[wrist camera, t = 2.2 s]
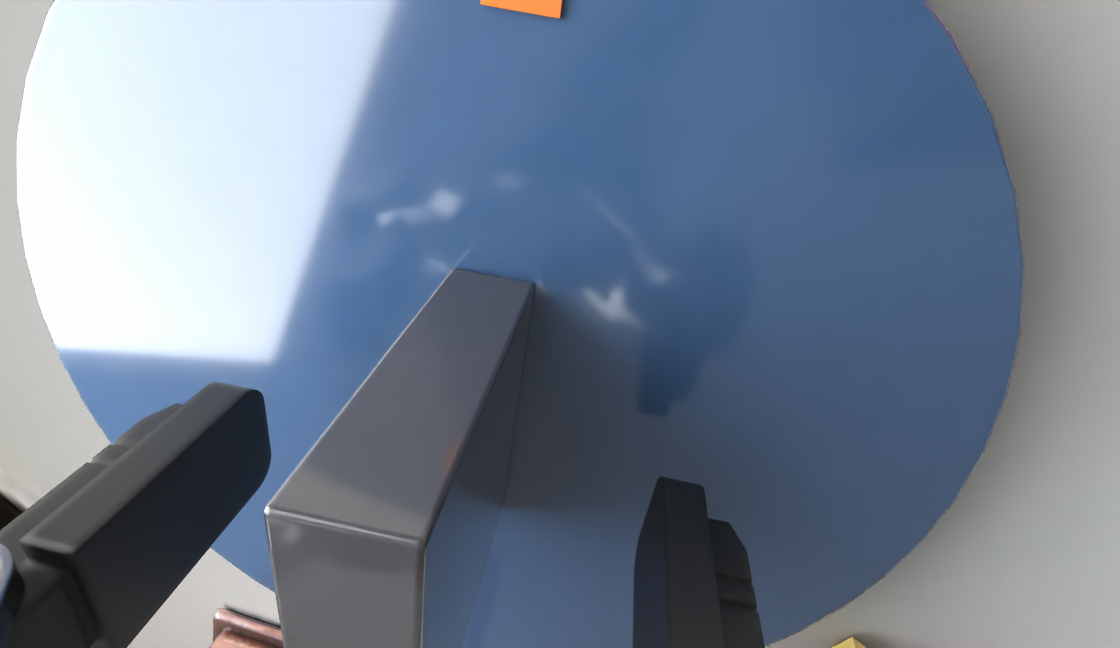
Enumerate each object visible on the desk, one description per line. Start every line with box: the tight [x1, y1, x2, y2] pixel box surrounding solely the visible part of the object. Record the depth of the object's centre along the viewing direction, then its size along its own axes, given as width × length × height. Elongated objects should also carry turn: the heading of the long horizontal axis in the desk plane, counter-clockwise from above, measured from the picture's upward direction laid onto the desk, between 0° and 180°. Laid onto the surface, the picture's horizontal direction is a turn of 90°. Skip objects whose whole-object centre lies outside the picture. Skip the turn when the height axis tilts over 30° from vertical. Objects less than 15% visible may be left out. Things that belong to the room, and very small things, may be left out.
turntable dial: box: [17, 0, 1024, 648], centre depth 10 cm, size 20×20×7 cm
